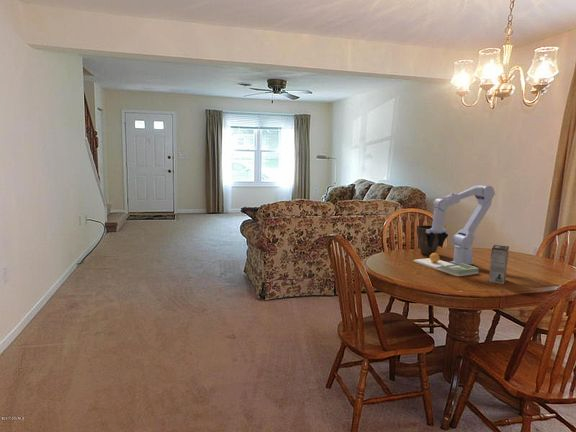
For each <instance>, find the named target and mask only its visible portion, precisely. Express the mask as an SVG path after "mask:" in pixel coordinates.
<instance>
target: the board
mask: <svg viewBox="0 0 576 432" xmlns="http://www.w3.org/2000/svg"><path fill="white" fill-rule="evenodd" d="M413 263H417V264H419V265H421V266H426V267H428V268H432V269H434V270H438V271H440V272H443V273H446V274H449V275H452V276H455V277H463V276H470V275H478V274H479V270H480V268H479V267H476V266H472V265H471V264H469V265H467V264H463V263H460V265H458V264H455V263H451V262H450V261H444V260H442V259H439V261H438V262H432V261H431V260H430V257H429V258H428V257H427V258H419V259H418V258H417V259H413Z"/></svg>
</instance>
